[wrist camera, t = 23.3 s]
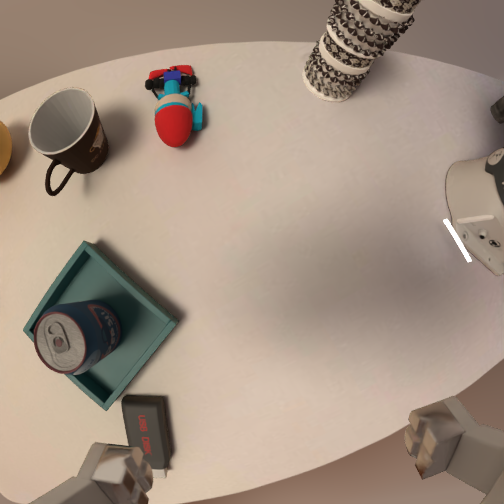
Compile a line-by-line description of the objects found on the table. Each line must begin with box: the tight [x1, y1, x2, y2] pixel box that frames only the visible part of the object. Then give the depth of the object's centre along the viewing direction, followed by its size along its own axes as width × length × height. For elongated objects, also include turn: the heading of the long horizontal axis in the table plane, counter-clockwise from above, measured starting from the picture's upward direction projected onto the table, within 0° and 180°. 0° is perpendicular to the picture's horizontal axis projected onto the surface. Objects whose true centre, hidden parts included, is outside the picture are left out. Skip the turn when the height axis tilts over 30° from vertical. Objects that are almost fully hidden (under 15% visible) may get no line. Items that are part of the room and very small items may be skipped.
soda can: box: [34, 300, 122, 375], centre depth 29 cm, size 7×7×12 cm
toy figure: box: [145, 65, 202, 147], centre depth 38 cm, size 8×5×15 cm
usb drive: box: [121, 396, 171, 478], centre depth 34 cm, size 5×12×3 cm, turn 2°
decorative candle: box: [302, 0, 421, 102], centre depth 31 cm, size 9×9×25 cm
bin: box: [23, 241, 179, 411], centre depth 34 cm, size 15×15×4 cm
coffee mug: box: [28, 87, 109, 196], centre depth 32 cm, size 12×9×10 cm
